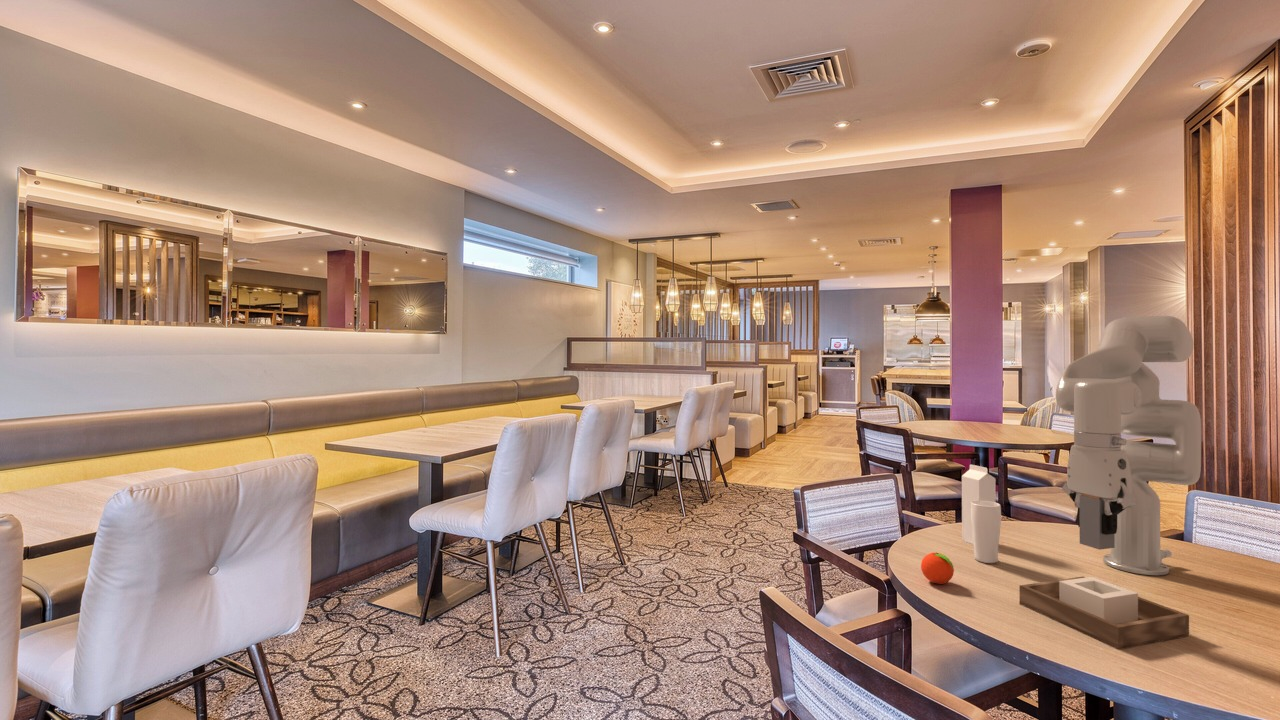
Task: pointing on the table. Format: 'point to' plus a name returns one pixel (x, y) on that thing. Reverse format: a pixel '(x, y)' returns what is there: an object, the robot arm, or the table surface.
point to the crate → (1147, 629)
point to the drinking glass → (985, 530)
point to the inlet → (1100, 599)
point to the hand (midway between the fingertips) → (1097, 529)
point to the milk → (975, 495)
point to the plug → (1093, 524)
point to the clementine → (937, 568)
